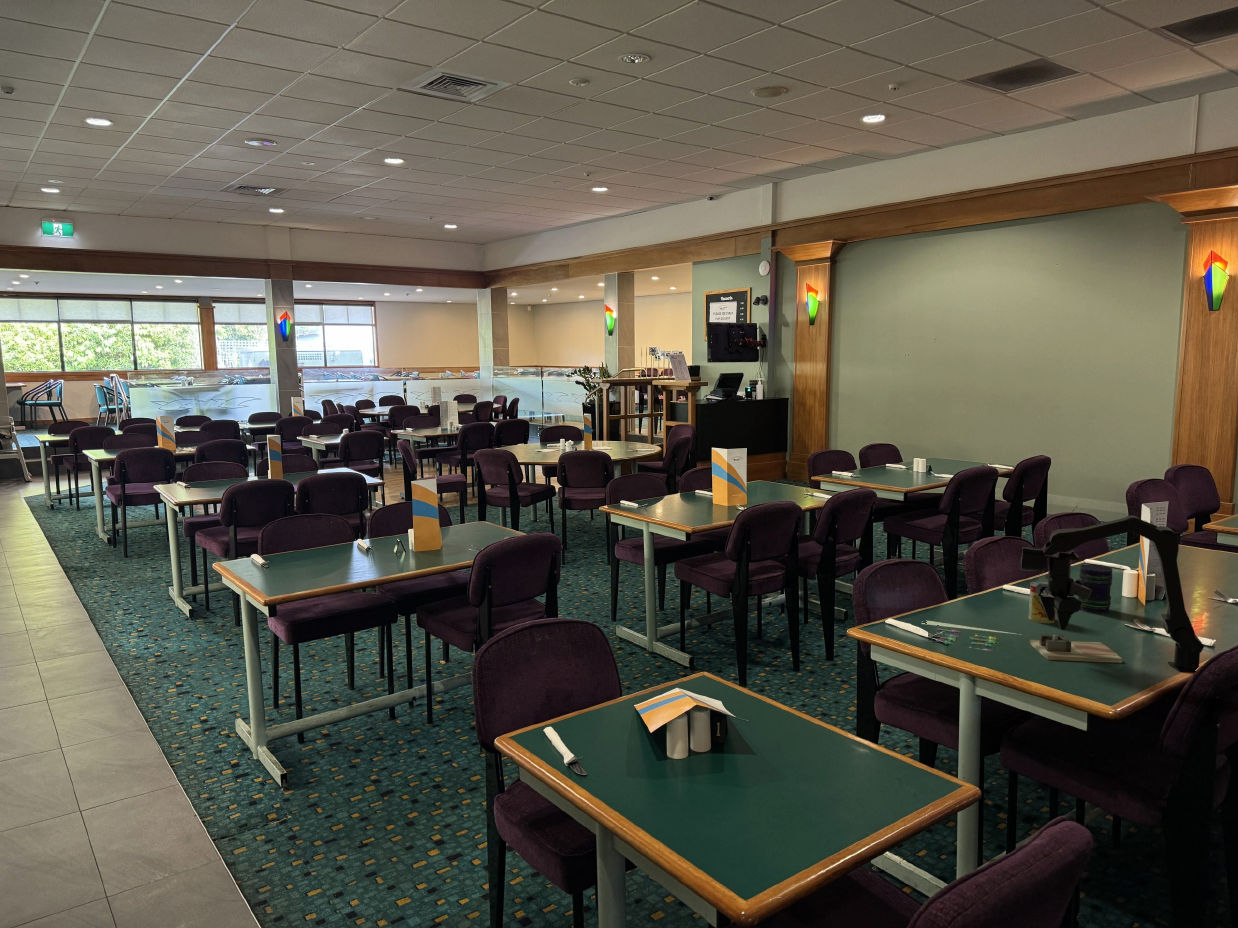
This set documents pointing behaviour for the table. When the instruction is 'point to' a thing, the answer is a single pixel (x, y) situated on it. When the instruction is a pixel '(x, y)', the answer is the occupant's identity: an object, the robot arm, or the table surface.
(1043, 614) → the canned food
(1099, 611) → the storage jar
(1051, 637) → the c link
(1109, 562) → the table surface
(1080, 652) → the board
